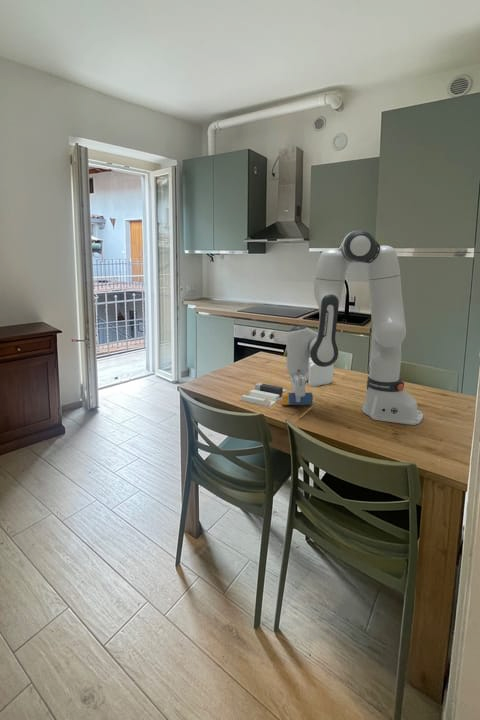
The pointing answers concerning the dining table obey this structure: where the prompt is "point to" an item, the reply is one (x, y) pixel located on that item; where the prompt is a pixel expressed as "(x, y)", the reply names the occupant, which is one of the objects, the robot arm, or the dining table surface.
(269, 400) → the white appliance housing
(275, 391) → the dark grey square rod
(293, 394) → the blue bar yellow end
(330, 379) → the cable organizer
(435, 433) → the dining table surface
